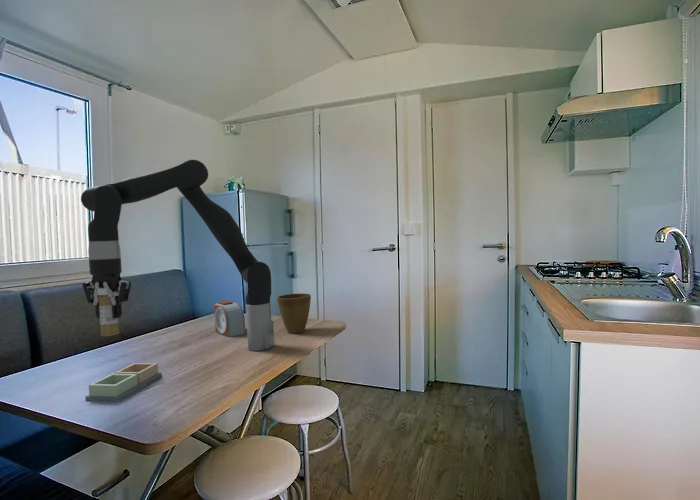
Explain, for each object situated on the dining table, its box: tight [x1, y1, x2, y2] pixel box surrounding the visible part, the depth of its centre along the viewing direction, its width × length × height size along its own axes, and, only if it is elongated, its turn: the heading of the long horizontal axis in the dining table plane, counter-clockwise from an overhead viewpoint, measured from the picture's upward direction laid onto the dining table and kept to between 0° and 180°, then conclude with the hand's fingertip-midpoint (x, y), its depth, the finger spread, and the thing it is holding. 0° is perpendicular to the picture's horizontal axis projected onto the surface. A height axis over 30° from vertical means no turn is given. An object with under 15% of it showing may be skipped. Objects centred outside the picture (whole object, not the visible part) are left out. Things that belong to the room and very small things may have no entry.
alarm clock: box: [213, 300, 247, 338], centre depth 168 cm, size 15×8×14 cm, turn 43°
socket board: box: [84, 362, 163, 402], centre depth 110 cm, size 10×18×4 cm, turn 171°
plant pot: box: [276, 292, 312, 335], centre depth 164 cm, size 15×15×16 cm
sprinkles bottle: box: [98, 288, 120, 337], centre depth 105 cm, size 5×5×13 cm
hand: (109, 317), depth 105 cm, fingers closed on sprinkles bottle, 4 cm apart
